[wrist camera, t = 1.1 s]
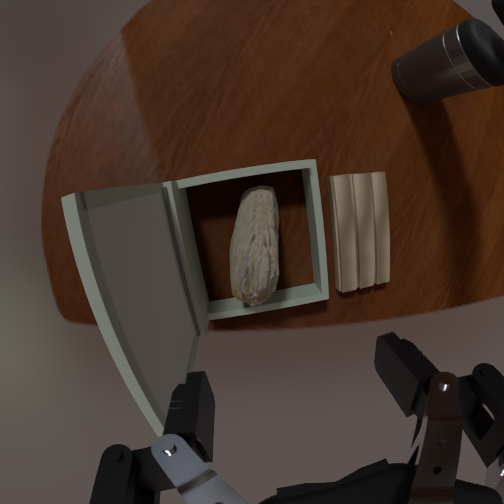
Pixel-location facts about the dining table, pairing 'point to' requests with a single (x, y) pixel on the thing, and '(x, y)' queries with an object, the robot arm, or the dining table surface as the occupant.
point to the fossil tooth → (255, 246)
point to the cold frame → (166, 277)
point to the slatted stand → (360, 229)
